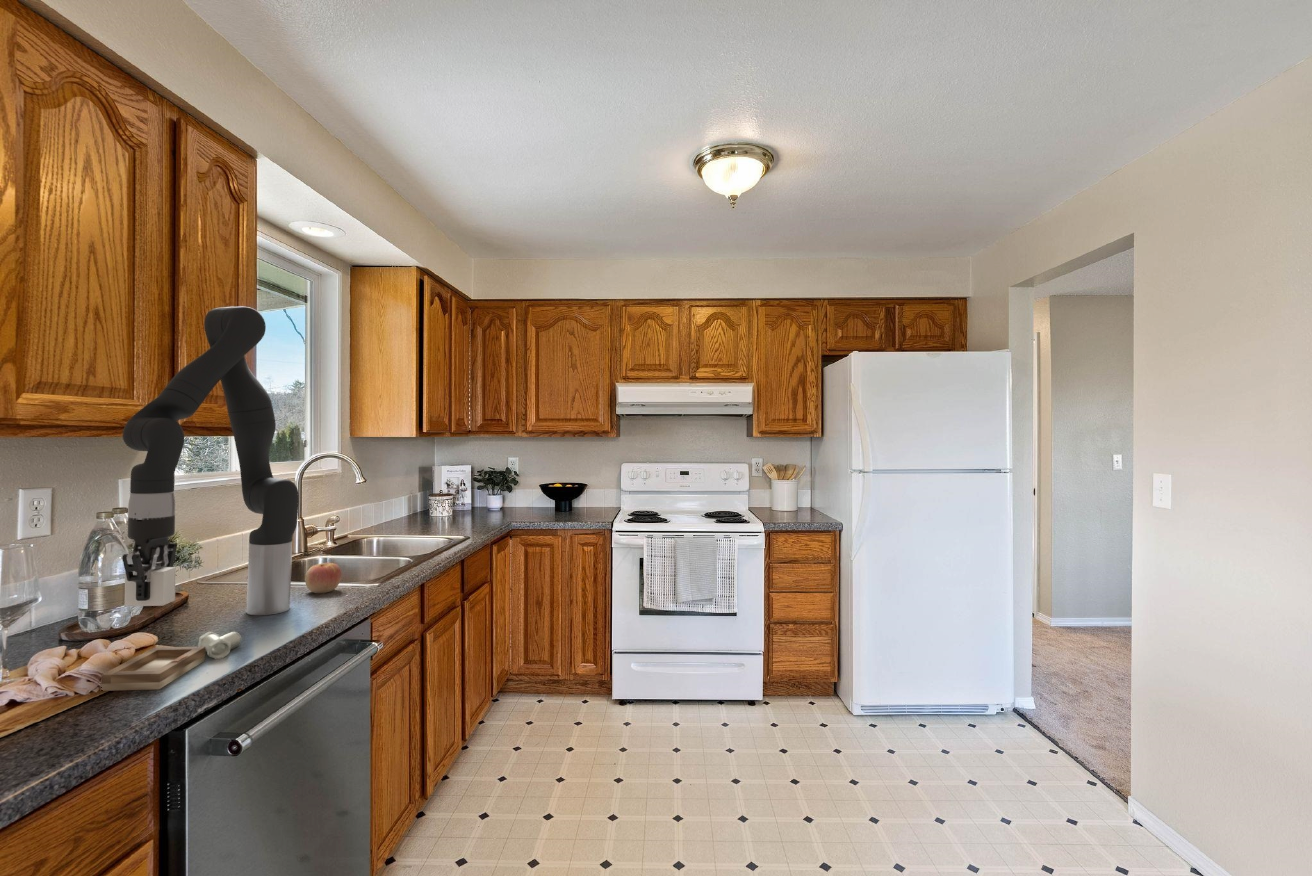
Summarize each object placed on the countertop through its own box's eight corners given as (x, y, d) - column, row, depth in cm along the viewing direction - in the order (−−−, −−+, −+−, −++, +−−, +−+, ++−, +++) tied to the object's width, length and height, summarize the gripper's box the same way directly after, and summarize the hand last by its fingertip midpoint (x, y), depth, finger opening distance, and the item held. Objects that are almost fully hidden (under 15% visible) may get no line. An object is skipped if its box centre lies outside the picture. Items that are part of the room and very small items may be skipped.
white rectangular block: (137, 600, 128) (138, 563, 128) (174, 600, 130) (175, 563, 130) (124, 606, 124) (125, 567, 124) (163, 605, 126) (163, 567, 126)
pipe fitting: (235, 646, 130) (197, 651, 125) (238, 627, 131) (200, 631, 126) (248, 655, 125) (208, 661, 120) (250, 636, 125) (211, 641, 120)
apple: (346, 590, 176) (347, 562, 176) (318, 597, 168) (319, 568, 168) (325, 586, 180) (326, 559, 180) (297, 593, 172) (298, 564, 172)
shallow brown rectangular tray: (153, 661, 119) (154, 646, 119) (205, 660, 120) (205, 645, 120) (100, 690, 105) (101, 673, 105) (159, 689, 106) (160, 672, 106)
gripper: (153, 509, 133) (152, 588, 133) (106, 519, 119) (104, 607, 119) (192, 509, 134) (190, 588, 135) (150, 519, 120) (148, 606, 121)
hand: (150, 596), depth 127 cm, fingers closed on white rectangular block, 4 cm apart
